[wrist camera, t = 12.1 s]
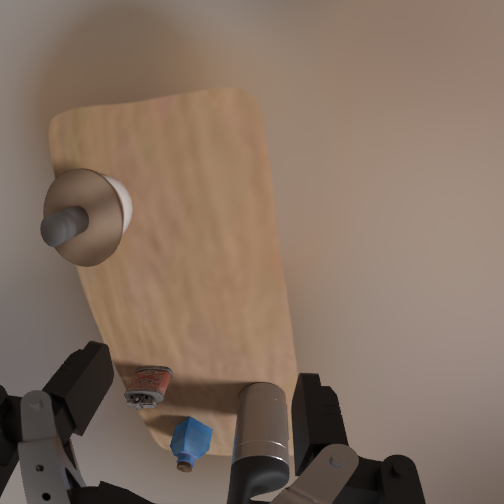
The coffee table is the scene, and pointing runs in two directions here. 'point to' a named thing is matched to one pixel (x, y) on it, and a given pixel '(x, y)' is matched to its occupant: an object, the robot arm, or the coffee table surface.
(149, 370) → the lighter
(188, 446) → the perfume bottle
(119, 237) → the walnut lid
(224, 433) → the coffee table surface
